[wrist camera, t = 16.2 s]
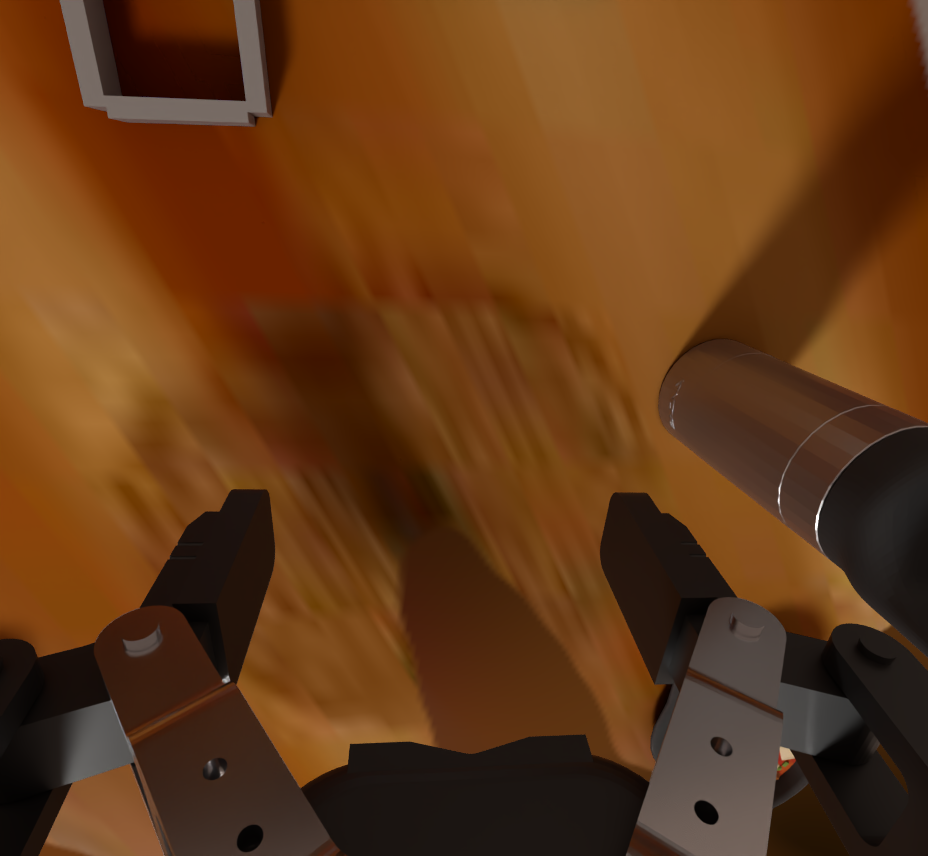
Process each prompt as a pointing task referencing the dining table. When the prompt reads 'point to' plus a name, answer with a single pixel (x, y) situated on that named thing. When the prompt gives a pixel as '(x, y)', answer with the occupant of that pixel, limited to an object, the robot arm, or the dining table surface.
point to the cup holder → (105, 94)
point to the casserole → (788, 768)
